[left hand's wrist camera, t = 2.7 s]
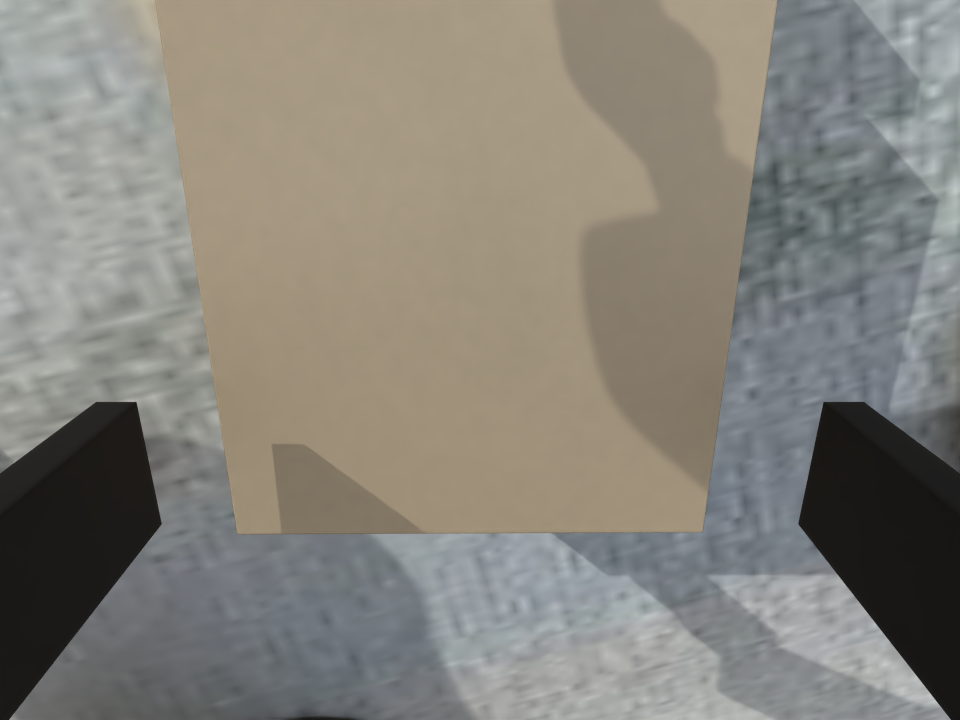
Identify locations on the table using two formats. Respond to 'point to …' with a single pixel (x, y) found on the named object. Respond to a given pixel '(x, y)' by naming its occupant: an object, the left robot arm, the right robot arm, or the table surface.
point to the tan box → (468, 253)
